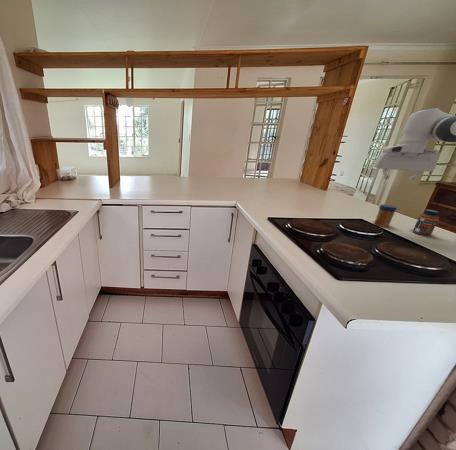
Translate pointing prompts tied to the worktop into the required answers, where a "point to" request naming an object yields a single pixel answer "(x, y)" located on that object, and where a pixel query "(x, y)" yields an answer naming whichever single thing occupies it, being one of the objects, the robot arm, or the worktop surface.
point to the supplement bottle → (426, 223)
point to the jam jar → (384, 218)
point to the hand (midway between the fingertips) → (398, 179)
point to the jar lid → (387, 207)
